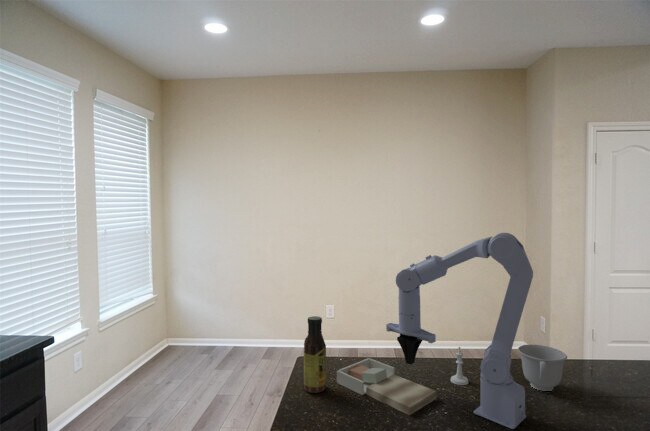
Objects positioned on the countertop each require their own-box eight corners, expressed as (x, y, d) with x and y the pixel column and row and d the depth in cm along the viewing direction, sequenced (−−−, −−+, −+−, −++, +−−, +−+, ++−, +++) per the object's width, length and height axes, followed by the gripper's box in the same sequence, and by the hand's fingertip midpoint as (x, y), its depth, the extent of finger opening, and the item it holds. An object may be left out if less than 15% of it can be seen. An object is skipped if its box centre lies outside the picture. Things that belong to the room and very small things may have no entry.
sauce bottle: (323, 395, 101) (323, 322, 101) (301, 393, 102) (300, 320, 102) (328, 384, 107) (327, 315, 107) (307, 382, 108) (306, 314, 108)
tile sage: (387, 377, 106) (385, 368, 107) (376, 383, 103) (374, 373, 103) (374, 376, 110) (372, 367, 110) (362, 381, 106) (361, 372, 107)
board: (436, 398, 99) (436, 391, 99) (409, 415, 91) (409, 407, 91) (393, 381, 109) (393, 374, 109) (366, 394, 101) (366, 387, 101)
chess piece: (465, 377, 111) (465, 344, 111) (470, 385, 106) (470, 350, 106) (448, 377, 111) (448, 343, 111) (452, 384, 106) (452, 350, 106)
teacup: (517, 396, 100) (517, 359, 99) (517, 374, 113) (517, 341, 113) (571, 407, 94) (571, 367, 94) (565, 383, 107) (565, 348, 107)
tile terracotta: (372, 378, 110) (372, 369, 110) (361, 383, 107) (361, 374, 107) (359, 372, 114) (359, 364, 114) (348, 377, 110) (348, 369, 110)
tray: (394, 379, 110) (394, 367, 110) (362, 395, 101) (362, 382, 101) (368, 369, 117) (368, 357, 117) (336, 382, 108) (336, 370, 108)
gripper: (441, 315, 98) (442, 366, 98) (396, 305, 109) (397, 351, 109) (426, 320, 94) (427, 374, 94) (381, 310, 104) (382, 358, 104)
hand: (410, 362), depth 101 cm, fingers closed
